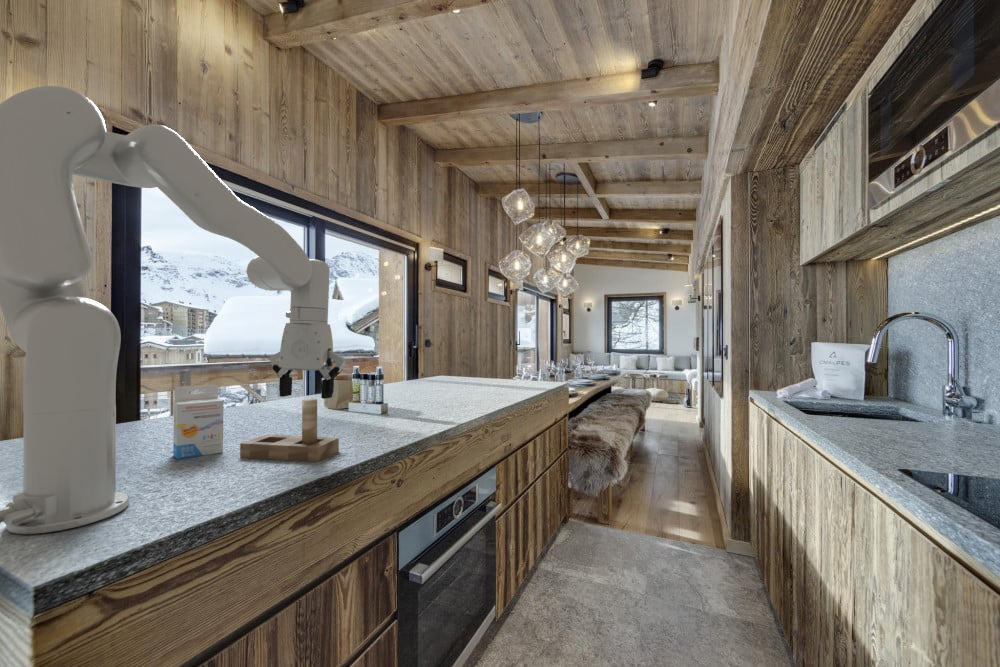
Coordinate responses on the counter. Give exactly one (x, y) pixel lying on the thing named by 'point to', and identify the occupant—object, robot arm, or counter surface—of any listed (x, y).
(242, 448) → the socket block
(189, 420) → the ink box
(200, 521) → the counter surface
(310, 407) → the peg
